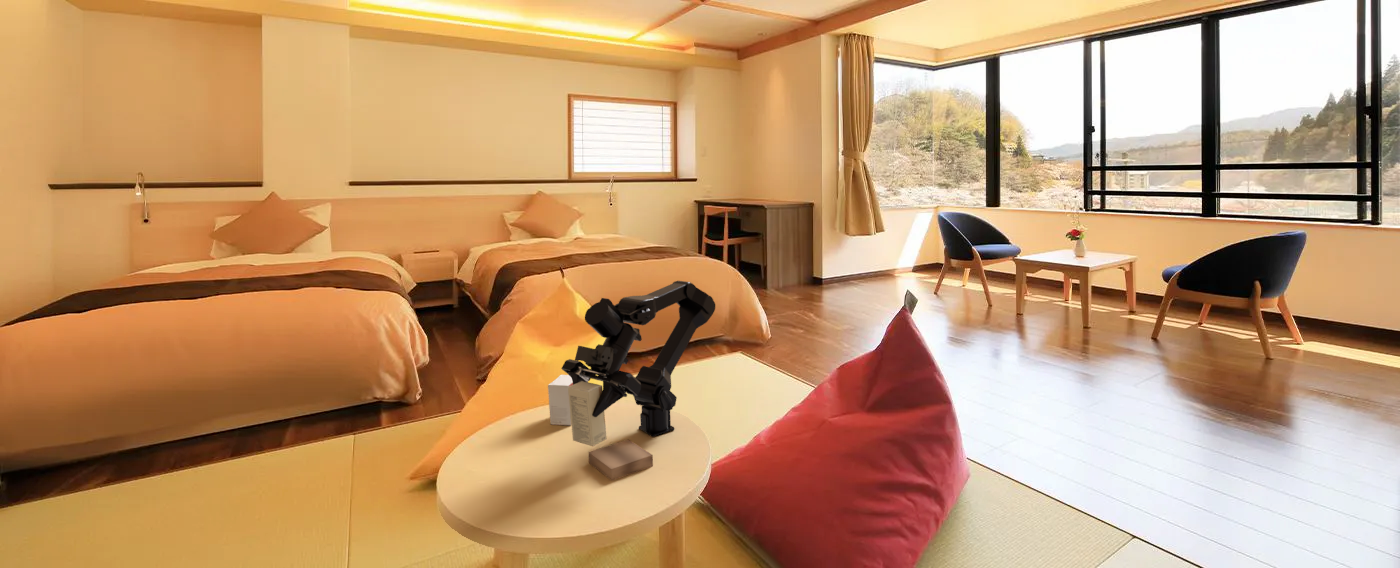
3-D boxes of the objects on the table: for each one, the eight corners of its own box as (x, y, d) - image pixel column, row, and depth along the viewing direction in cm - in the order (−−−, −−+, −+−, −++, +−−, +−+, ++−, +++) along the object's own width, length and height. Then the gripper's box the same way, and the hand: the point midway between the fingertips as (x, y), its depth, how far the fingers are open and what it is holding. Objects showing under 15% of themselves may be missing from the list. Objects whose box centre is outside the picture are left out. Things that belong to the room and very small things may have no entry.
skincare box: (607, 439, 135) (604, 385, 132) (593, 447, 132) (589, 392, 129) (585, 432, 139) (582, 379, 136) (571, 440, 135) (567, 386, 133)
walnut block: (628, 451, 144) (628, 439, 143) (653, 467, 136) (652, 454, 135) (589, 464, 138) (588, 451, 137) (612, 482, 130) (611, 469, 130)
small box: (571, 426, 157) (568, 385, 155) (549, 424, 158) (547, 384, 156) (583, 413, 165) (580, 375, 163) (562, 412, 166) (560, 374, 164)
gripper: (564, 323, 139) (528, 387, 132) (629, 336, 128) (594, 406, 122) (592, 348, 147) (560, 409, 140) (655, 361, 136) (623, 429, 130)
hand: (582, 413), depth 133 cm, fingers closed on skincare box, 6 cm apart
